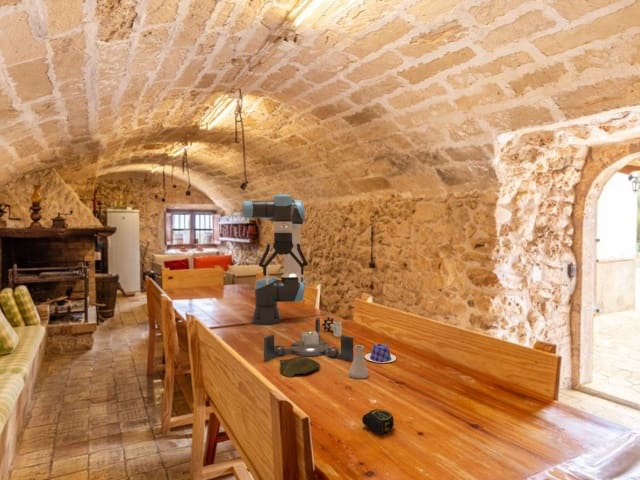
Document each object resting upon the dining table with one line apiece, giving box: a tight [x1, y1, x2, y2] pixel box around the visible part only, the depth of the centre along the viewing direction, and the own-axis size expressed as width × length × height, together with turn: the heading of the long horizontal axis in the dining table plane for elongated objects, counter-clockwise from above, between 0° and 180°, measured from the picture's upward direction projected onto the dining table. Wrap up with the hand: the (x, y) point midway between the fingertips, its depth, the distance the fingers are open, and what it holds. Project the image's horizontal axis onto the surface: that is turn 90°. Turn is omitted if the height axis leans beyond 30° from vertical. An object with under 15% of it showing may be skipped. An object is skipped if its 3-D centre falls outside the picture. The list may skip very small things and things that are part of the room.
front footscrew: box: [263, 334, 286, 362], centre depth 157 cm, size 11×4×9 cm, turn 151°
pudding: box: [364, 343, 397, 364], centre depth 155 cm, size 12×12×5 cm
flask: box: [348, 344, 370, 379], centre depth 138 cm, size 7×7×10 cm
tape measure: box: [361, 408, 395, 435], centre depth 102 cm, size 7×7×4 cm
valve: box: [321, 316, 343, 338], centre depth 190 cm, size 7×7×12 cm
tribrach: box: [285, 316, 354, 363], centre depth 167 cm, size 36×25×9 cm
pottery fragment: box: [279, 356, 321, 379], centre depth 143 cm, size 14×14×4 cm
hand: (283, 283), depth 167 cm, fingers open, 13 cm apart
